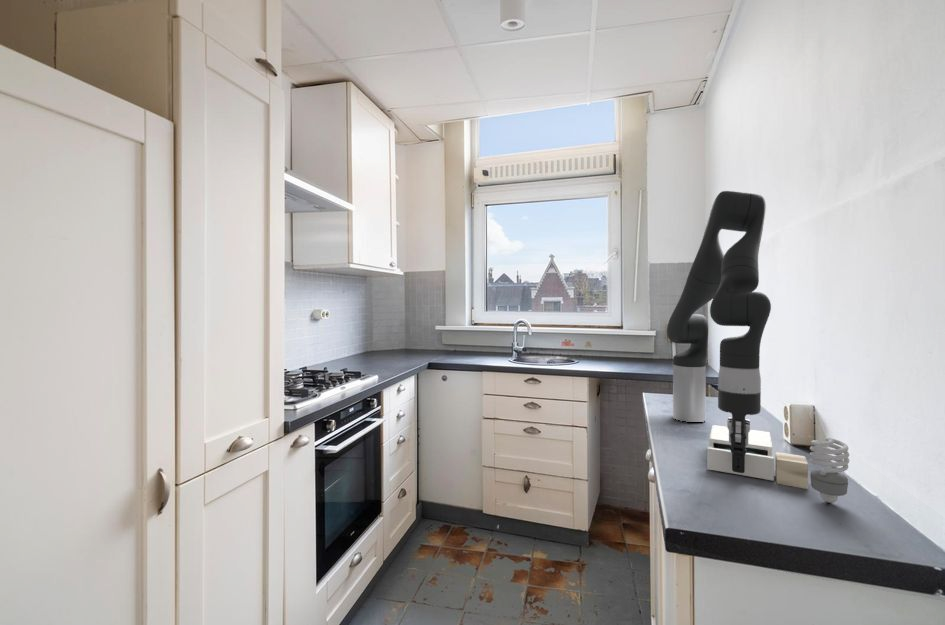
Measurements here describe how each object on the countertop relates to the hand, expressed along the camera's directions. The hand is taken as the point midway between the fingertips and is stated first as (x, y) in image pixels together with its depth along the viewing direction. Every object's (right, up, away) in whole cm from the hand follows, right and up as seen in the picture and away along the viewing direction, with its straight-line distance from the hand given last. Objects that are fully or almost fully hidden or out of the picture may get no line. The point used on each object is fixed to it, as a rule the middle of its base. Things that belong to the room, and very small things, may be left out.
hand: (738, 471), depth 90 cm
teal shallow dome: (+4, 0, +6) cm, 7 cm away
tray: (+5, -1, +8) cm, 9 cm away
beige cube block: (+10, -2, -1) cm, 10 cm away
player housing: (+8, -2, +12) cm, 15 cm away
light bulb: (+10, -2, -11) cm, 15 cm away
